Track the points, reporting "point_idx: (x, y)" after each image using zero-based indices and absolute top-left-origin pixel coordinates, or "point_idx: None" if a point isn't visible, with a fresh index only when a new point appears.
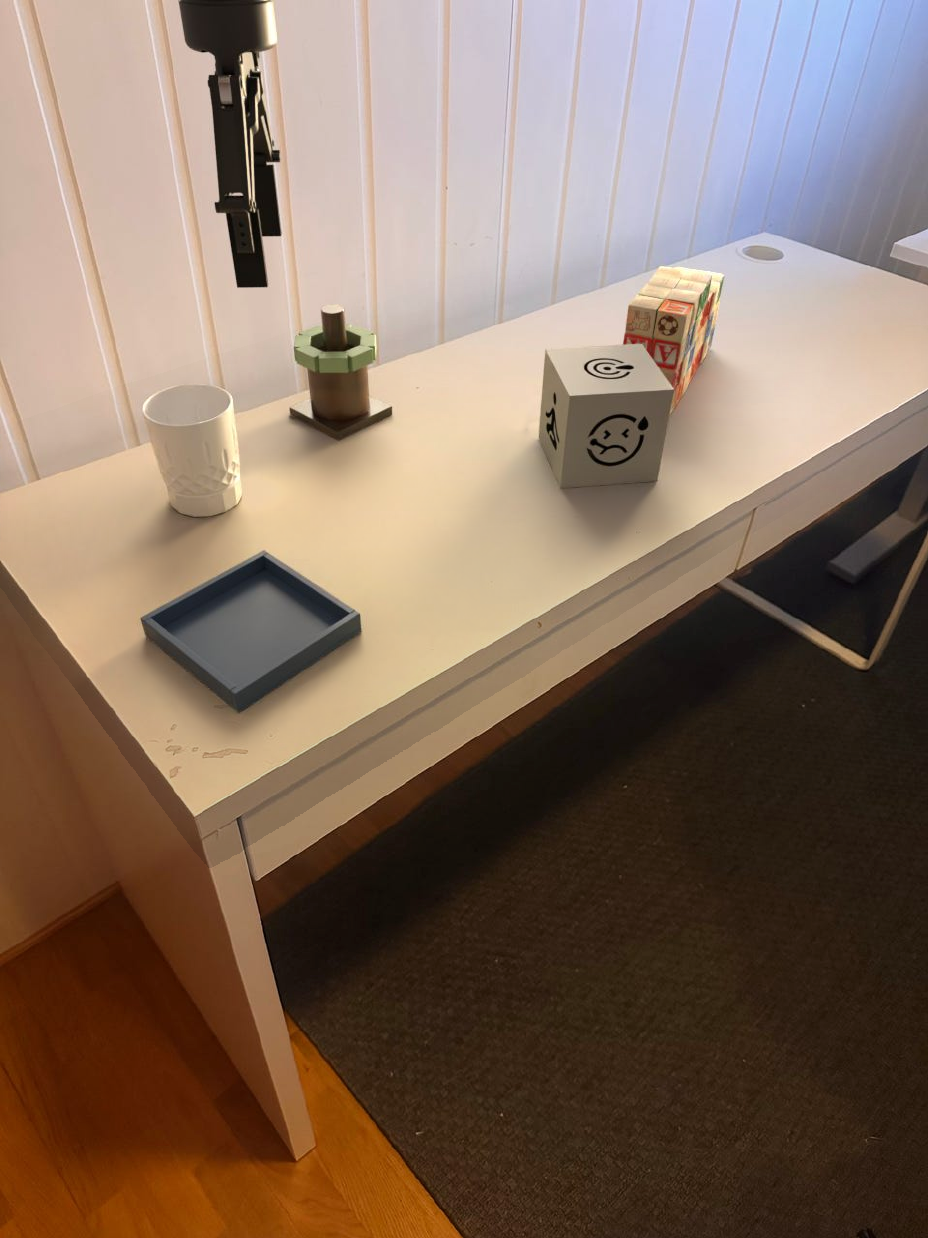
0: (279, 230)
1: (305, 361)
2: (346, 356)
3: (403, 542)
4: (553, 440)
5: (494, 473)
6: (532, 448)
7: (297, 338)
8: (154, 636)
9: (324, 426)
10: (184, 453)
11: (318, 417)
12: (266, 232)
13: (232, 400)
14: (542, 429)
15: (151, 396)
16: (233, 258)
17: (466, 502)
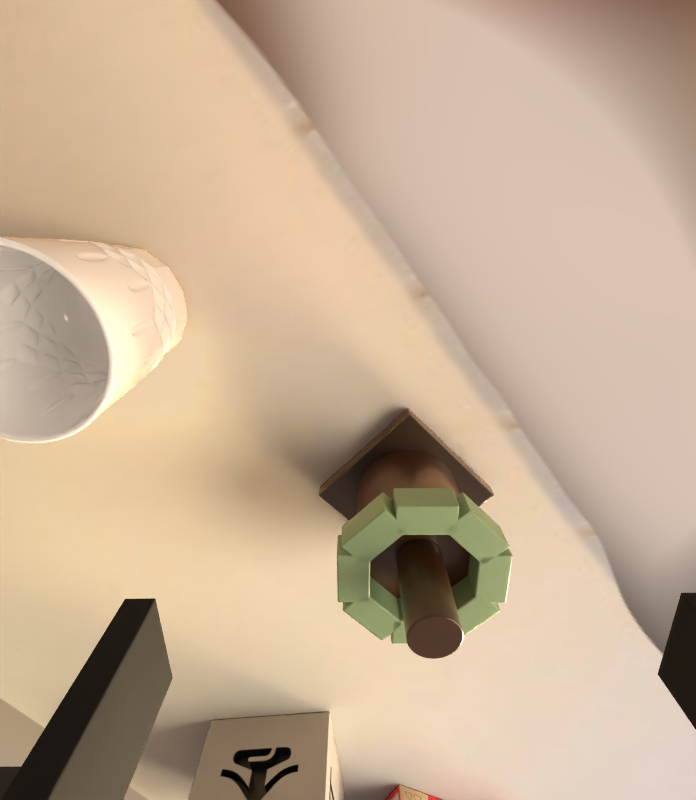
0: (673, 691)
1: (361, 518)
2: (345, 601)
3: (70, 570)
4: (264, 750)
5: (240, 664)
6: (303, 703)
7: (439, 510)
8: None
9: (341, 473)
10: None
11: (369, 464)
12: (678, 645)
13: (49, 441)
14: (310, 734)
15: (23, 249)
16: (63, 701)
17: (169, 634)
